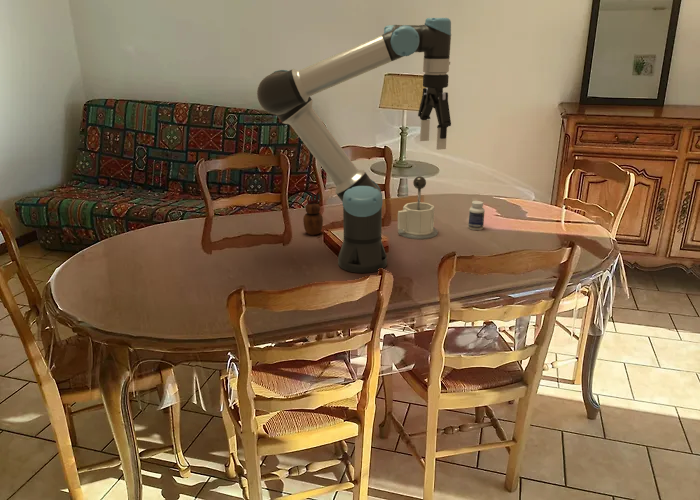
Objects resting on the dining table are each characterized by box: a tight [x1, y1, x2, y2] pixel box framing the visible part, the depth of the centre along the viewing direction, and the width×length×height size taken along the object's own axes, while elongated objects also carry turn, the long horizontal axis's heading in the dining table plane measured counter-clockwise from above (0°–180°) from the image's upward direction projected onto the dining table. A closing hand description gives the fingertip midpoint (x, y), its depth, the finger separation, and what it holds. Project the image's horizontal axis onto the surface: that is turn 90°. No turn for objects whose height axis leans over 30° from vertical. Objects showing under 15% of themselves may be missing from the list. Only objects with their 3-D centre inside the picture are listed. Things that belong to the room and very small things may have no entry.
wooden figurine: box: [303, 191, 324, 236], centre depth 207 cm, size 7×6×15 cm
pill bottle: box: [467, 200, 485, 231], centre depth 212 cm, size 5×5×10 cm
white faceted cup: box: [397, 201, 439, 240], centre depth 208 cm, size 15×14×10 cm
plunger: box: [412, 175, 427, 211], centre depth 206 cm, size 7×7×18 cm
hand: (432, 144), depth 183 cm, fingers open, 13 cm apart
